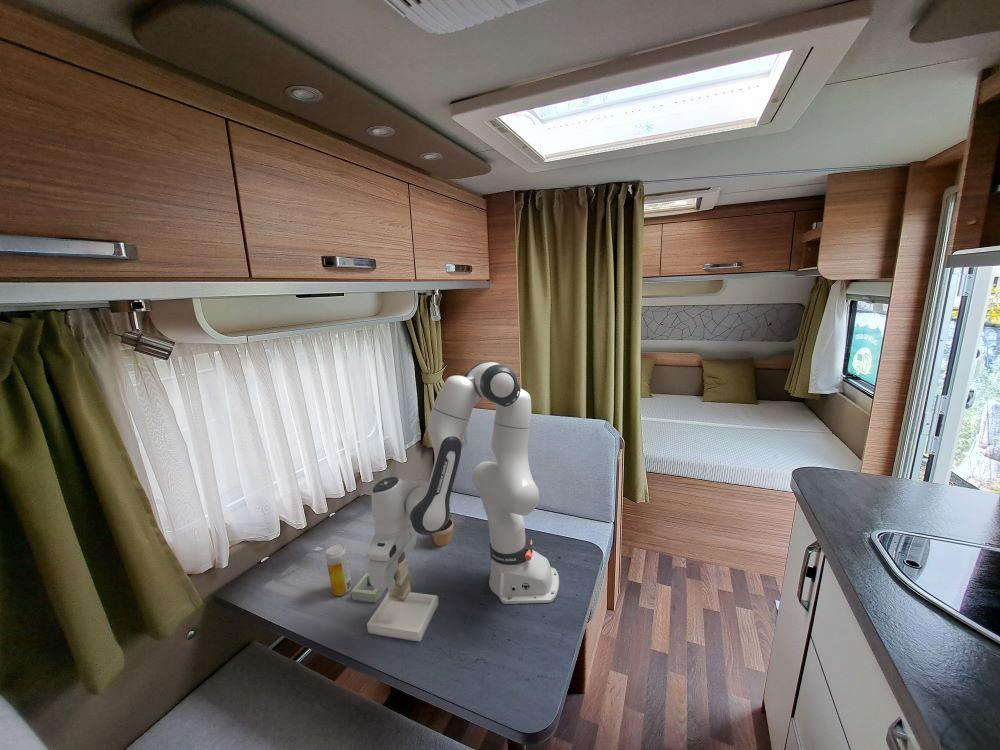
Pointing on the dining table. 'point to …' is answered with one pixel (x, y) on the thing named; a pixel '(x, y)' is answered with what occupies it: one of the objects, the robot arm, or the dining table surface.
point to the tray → (404, 616)
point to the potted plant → (444, 533)
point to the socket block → (366, 591)
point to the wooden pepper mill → (400, 581)
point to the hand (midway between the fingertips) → (398, 578)
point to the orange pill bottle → (338, 569)
